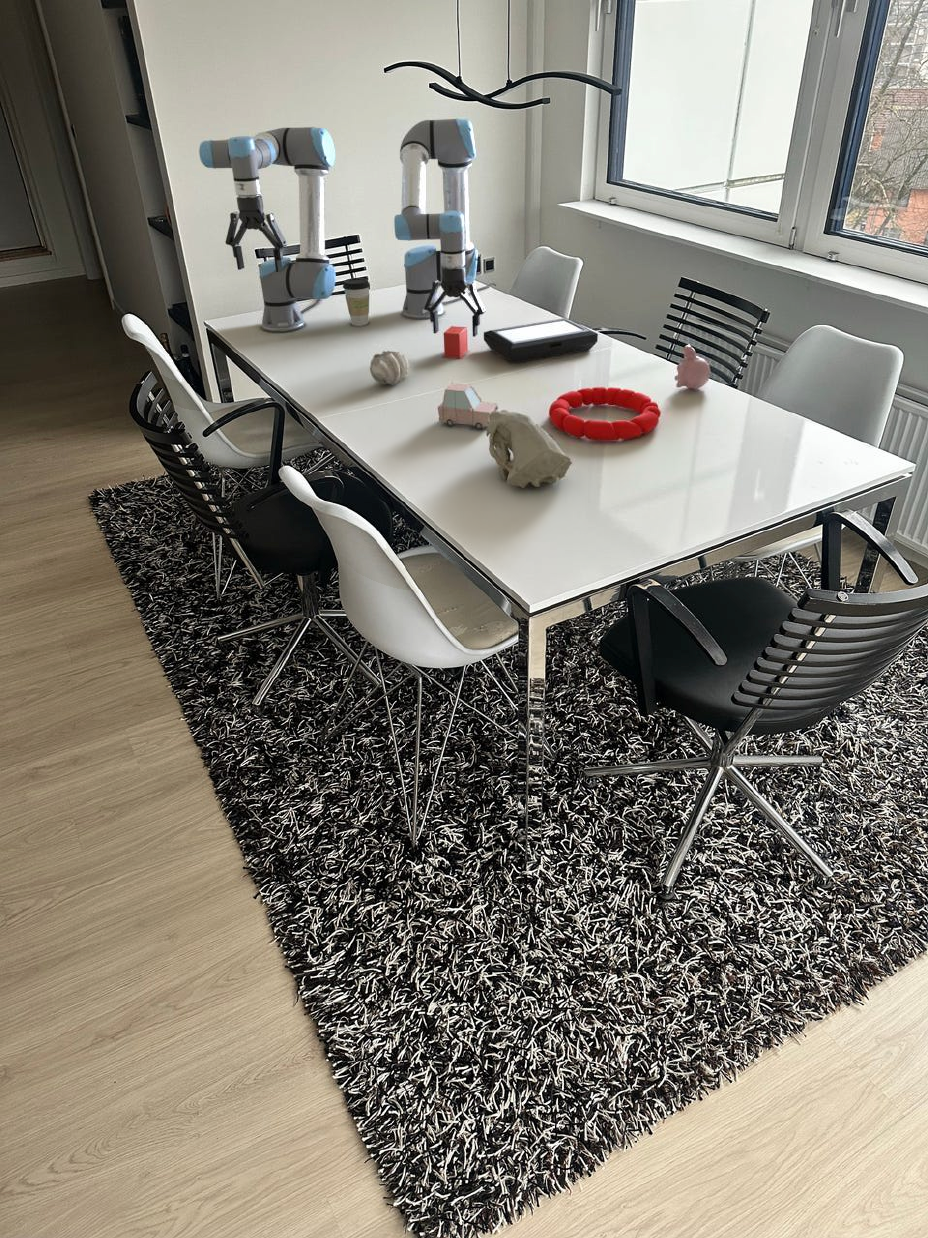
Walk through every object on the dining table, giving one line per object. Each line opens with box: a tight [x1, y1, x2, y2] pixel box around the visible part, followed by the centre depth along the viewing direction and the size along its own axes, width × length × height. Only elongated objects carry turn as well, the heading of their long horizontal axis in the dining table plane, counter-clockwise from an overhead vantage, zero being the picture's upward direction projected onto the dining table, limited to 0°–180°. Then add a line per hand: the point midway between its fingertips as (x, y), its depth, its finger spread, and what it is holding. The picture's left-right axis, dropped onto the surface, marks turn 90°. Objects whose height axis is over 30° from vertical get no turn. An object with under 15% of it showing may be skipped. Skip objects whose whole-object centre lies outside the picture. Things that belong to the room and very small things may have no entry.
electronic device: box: [483, 317, 599, 364], centre depth 294 cm, size 32×6×20 cm
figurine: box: [674, 344, 711, 390], centre depth 259 cm, size 9×11×12 cm
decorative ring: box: [548, 386, 661, 442], centre depth 242 cm, size 7×30×30 cm
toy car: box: [437, 382, 499, 431], centre depth 243 cm, size 9×15×10 cm, turn 70°
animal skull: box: [485, 409, 573, 489], centre depth 216 cm, size 17×25×20 cm
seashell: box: [369, 350, 409, 385], centre depth 270 cm, size 10×15×10 cm
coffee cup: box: [342, 277, 371, 327], centre depth 323 cm, size 10×10×15 cm
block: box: [443, 325, 469, 360], centre depth 293 cm, size 6×8×8 cm
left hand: (260, 269), depth 278 cm, fingers open, 13 cm apart
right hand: (455, 333), depth 291 cm, fingers open, 13 cm apart
